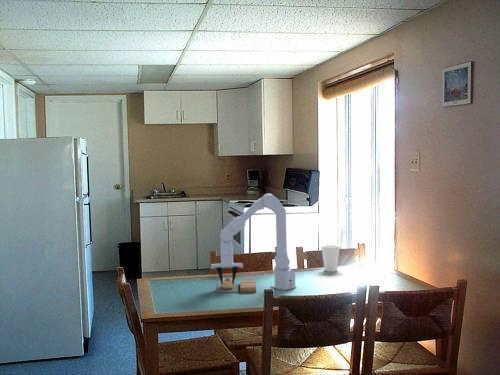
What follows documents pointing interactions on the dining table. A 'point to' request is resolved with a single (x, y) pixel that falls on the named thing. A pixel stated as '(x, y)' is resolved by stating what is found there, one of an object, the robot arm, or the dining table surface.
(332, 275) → the dining table surface
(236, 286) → the mat
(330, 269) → the foam cup
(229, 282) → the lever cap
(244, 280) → the body
